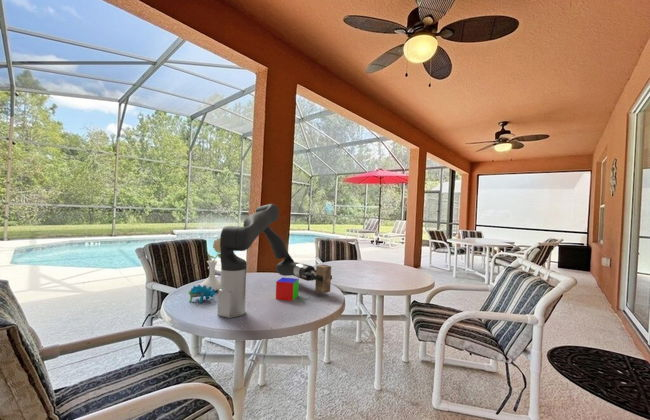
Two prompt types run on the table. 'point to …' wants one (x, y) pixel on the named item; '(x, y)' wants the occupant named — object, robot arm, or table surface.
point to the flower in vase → (213, 270)
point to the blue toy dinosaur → (201, 292)
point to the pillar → (326, 274)
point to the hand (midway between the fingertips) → (327, 278)
